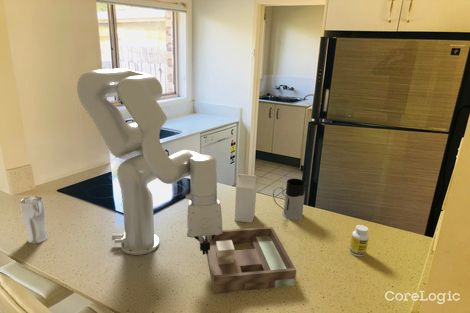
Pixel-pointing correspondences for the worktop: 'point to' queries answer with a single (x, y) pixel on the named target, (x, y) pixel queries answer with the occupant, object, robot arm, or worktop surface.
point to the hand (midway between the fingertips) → (205, 251)
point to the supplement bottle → (359, 241)
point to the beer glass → (34, 218)
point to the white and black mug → (293, 199)
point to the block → (225, 252)
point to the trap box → (251, 262)
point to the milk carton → (245, 198)
